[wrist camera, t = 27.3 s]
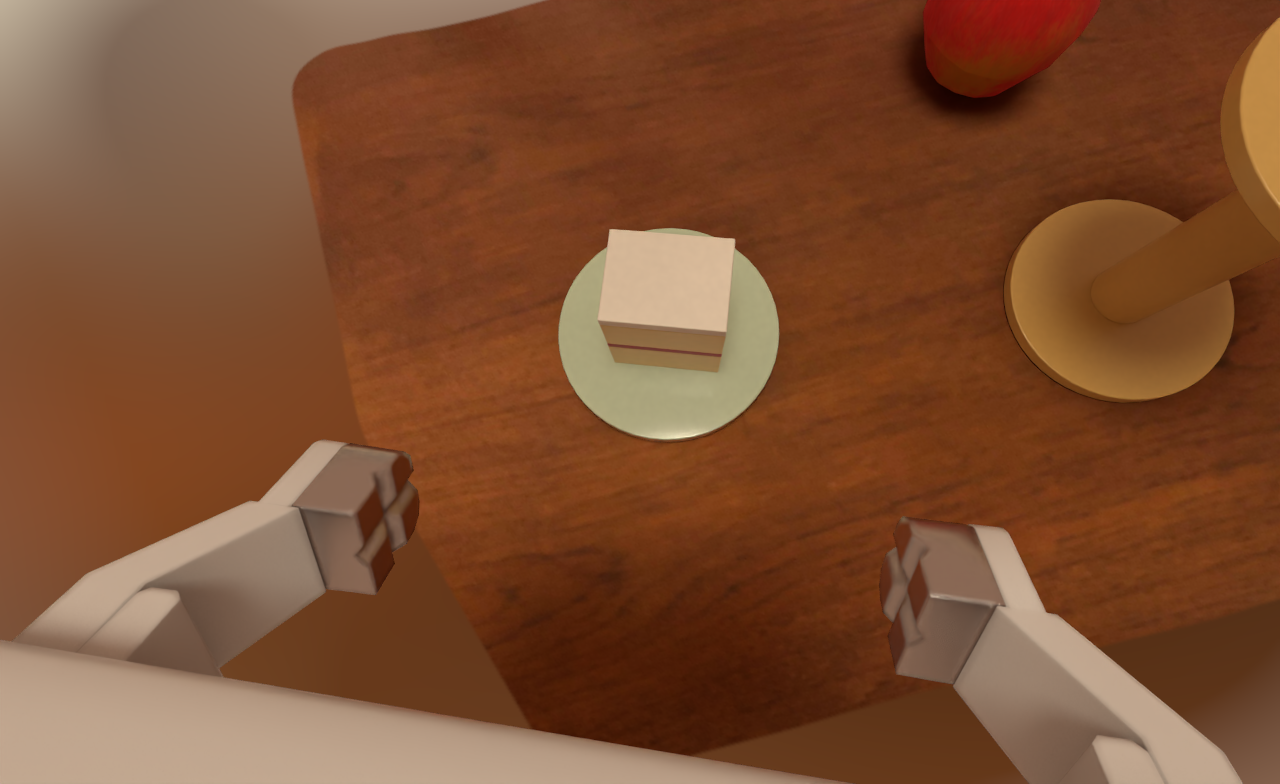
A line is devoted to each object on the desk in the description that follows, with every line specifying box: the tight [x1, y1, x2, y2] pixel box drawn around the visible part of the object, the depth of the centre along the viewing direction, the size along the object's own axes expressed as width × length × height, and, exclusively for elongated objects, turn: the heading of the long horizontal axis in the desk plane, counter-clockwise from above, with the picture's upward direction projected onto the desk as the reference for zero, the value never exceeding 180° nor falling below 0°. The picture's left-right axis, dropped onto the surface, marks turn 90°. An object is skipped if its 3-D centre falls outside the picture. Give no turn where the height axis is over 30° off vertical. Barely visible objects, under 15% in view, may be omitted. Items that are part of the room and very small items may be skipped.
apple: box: [923, 0, 1101, 98], centre depth 39 cm, size 9×9×12 cm
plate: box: [558, 228, 779, 442], centre depth 41 cm, size 14×14×1 cm
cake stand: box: [1004, 17, 1280, 403], centre depth 32 cm, size 13×13×18 cm
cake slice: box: [597, 229, 735, 372], centre depth 37 cm, size 5×6×8 cm
